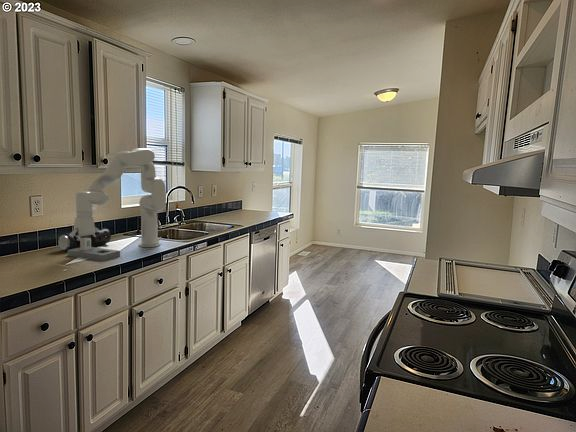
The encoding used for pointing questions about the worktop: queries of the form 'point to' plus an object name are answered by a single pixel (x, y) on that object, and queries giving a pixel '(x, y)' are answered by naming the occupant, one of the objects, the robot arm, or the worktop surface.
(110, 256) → the socket block
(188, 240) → the worktop surface
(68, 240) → the black flashlight
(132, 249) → the worktop surface
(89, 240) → the plug
